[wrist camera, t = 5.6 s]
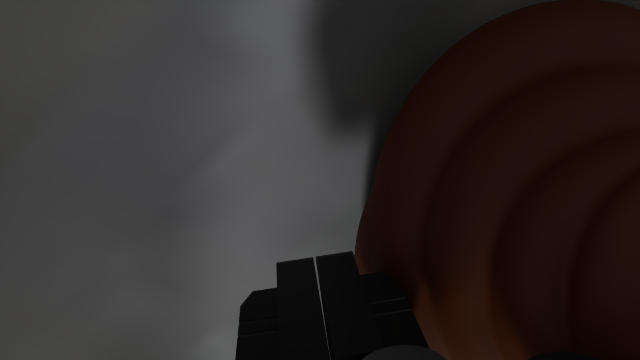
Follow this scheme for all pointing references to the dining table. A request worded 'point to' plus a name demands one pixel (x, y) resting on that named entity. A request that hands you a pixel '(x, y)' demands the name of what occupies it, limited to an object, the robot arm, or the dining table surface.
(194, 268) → the dining table surface
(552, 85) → the poop emoji
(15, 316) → the dining table surface
